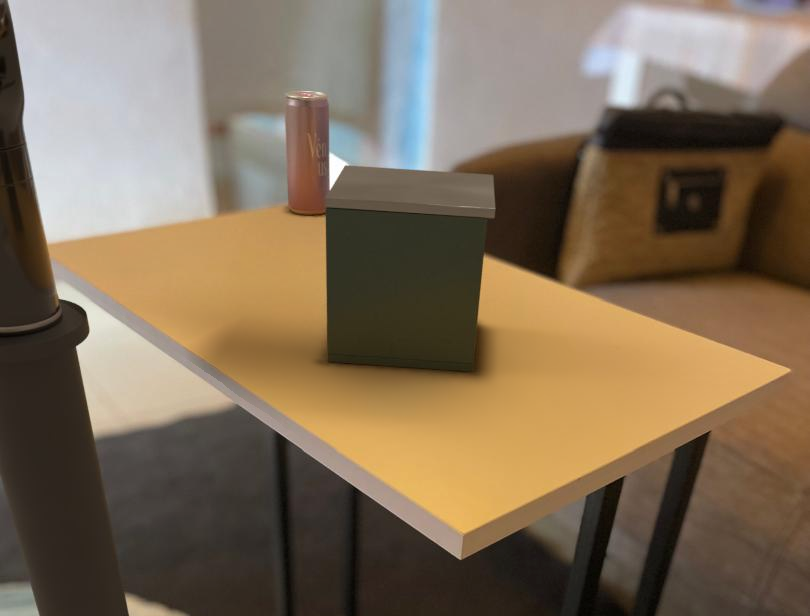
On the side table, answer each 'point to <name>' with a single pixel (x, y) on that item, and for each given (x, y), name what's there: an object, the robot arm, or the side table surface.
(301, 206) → the beverage can
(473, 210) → the bin lid
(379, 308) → the trash bin
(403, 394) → the side table surface
